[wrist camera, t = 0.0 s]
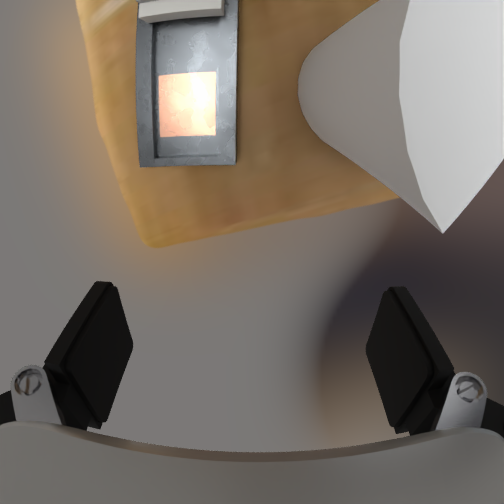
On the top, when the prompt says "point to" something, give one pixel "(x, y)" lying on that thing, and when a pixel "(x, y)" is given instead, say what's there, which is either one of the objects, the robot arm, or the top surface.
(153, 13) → the slider knob
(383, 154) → the cylinder
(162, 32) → the dark grey tray
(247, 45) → the top surface
